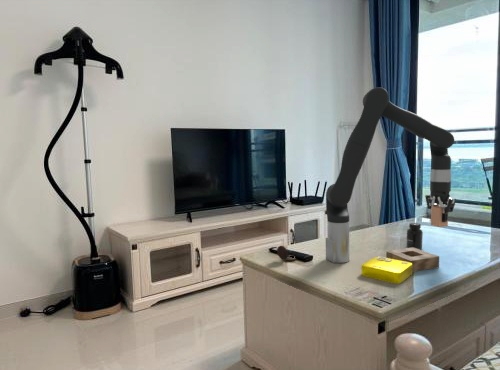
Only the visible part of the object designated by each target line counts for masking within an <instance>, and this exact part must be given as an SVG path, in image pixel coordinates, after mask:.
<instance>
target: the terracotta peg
mask: <svg viewBox="0 0 500 370" xmlns="http://www.w3.org/2000/svg"><path fill="white" fill-rule="evenodd" d="M430 206H431V205H430ZM445 209H446V208H445ZM430 226H433V227H436V228H442V227H448V226H449V219H448V220H447V222H442V208H440V205H439V206H431V209H430Z"/></svg>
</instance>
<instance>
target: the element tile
mask: <svg viewBox="0 0 500 370" xmlns="http://www.w3.org/2000/svg"><path fill="white" fill-rule="evenodd" d="M410 275H411V276H412V275H413V272H412V263H410V262H405V261H400V260H395V259H390V258H386V256H374V257H372V258H371V259H369V260H367V261H365V262H364V263H362V264H361V276H363V277H366V278H369V279H375V280H379V281H382V282H387V283H391V284H399V285H400V284H401V283H403V282H404V281H405V280H407V279H408V278H409V277H411V276H410Z"/></svg>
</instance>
